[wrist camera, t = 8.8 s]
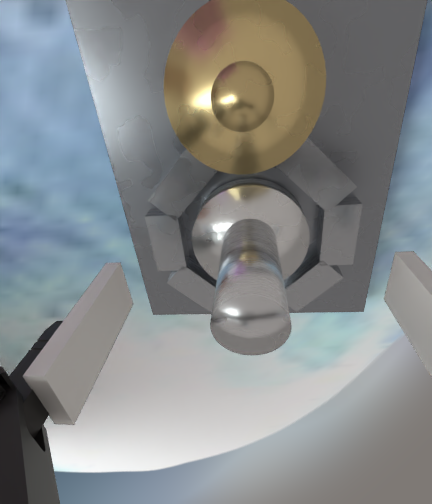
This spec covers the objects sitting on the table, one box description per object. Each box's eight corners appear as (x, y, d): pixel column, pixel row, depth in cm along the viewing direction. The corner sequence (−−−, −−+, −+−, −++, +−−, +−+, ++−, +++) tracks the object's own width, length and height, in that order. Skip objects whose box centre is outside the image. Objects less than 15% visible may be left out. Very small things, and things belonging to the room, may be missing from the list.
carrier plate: (157, 302, 25) (148, 325, 23) (63, -61, 14) (26, -88, 11) (357, 298, 23) (369, 323, 21) (436, -132, 12) (482, -182, 9)
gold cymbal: (186, 166, 17) (169, 192, 13) (163, 14, 14) (131, -8, 10) (310, 156, 16) (329, 182, 13) (319, -9, 13) (350, -43, 9)
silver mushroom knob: (203, 277, 21) (179, 382, 14) (187, 183, 18) (146, 257, 11) (303, 274, 20) (333, 384, 13) (307, 173, 17) (353, 247, 10)
